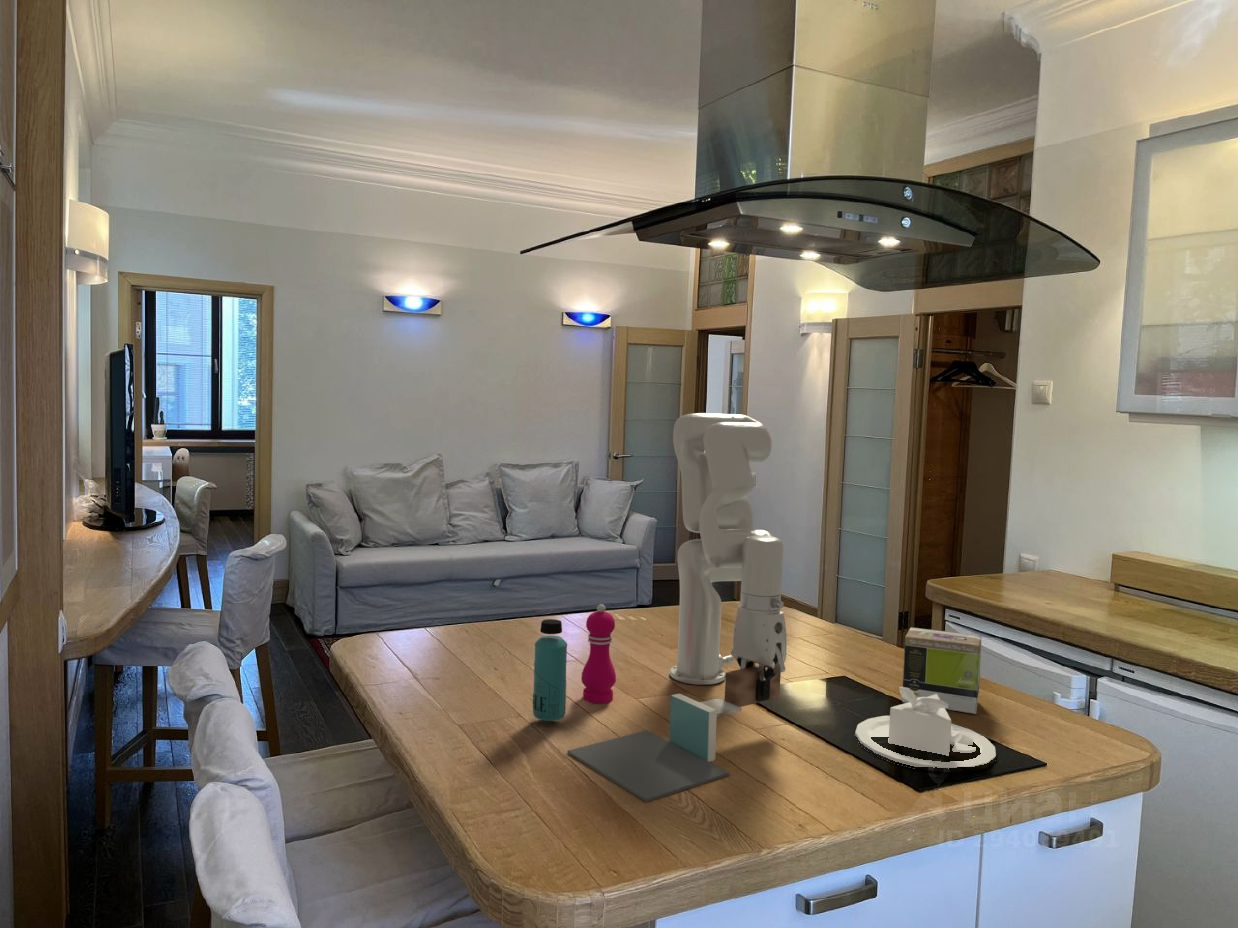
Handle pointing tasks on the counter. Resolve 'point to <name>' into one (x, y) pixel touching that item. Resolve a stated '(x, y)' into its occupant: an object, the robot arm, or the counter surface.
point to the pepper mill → (599, 658)
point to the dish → (923, 733)
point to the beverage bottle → (550, 673)
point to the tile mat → (647, 765)
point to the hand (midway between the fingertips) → (755, 696)
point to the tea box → (943, 667)
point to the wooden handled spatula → (742, 690)
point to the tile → (693, 726)
